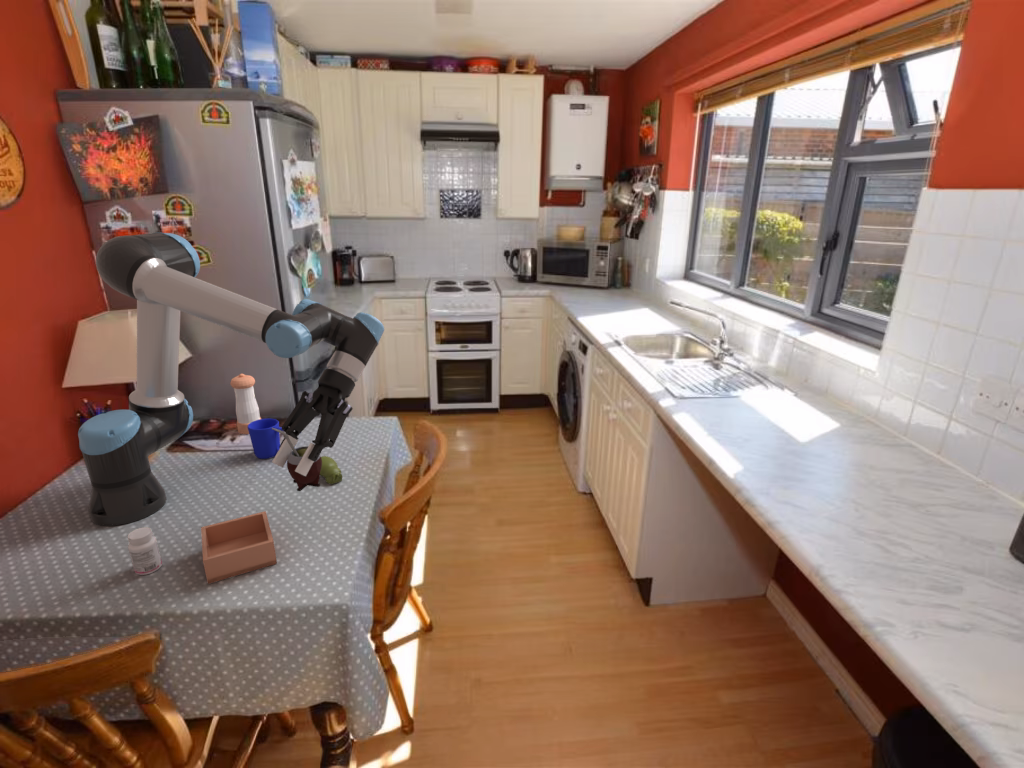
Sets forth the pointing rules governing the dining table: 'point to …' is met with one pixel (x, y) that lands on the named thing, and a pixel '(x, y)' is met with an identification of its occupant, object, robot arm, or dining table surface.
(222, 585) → the dining table surface
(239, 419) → the pepper shaker
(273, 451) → the mug
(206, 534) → the box
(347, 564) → the dining table surface
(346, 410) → the robot arm
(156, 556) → the pill bottle
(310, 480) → the mate gourd
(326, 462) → the pear
